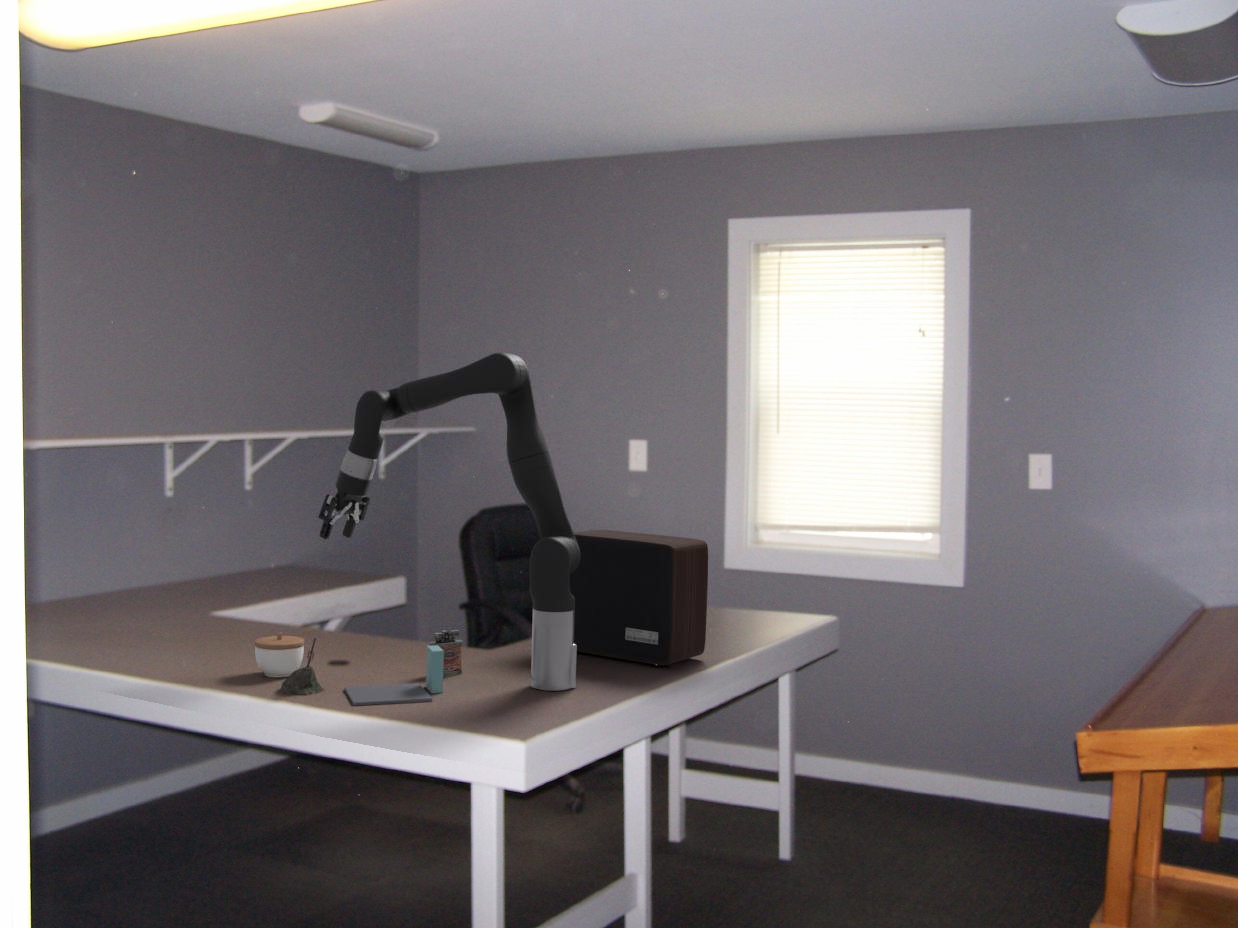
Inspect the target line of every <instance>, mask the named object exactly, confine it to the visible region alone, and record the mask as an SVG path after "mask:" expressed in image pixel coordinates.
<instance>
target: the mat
mask: <svg viewBox="0 0 1238 928" xmlns="http://www.w3.org/2000/svg"><path fill="white" fill-rule="evenodd" d="M344 691H345V693H346V695H347V696H348V698H349V700H350V702H351V704H352V705H353V706H354V707H356V706H371V705H373V706H374V704H375V705H390V704H405V703H406V704H407V703H408V704H409V703H425V702H426V703H427V702H433V698H432V697H431V695H430V694H429V693H428V692H427V691H426V689H425V688H424V687H423V686H422V684H421V683H420V682H419V683H417V682H416V683H401V684H396V683H395V684H379V685H362V686H361V685H360V686H359V685H357V686H356V685H355V686H346V687H344Z"/></svg>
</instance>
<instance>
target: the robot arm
mask: <svg viewBox="0 0 1238 928" xmlns="http://www.w3.org/2000/svg"><path fill="white" fill-rule="evenodd" d="M482 394H483V395H484V394H495V395H498V397H499V399H500V402H501V405H502V409H503V412H504V415H505V418H506V419H505V420H506V456H507V461H508V465H509V469H510V472H511V474H512V479H513V482H514V485H515V487H516V489H517V491H518V492H519V495H520V496H521V497H522V499H523V501H524V503H525V504H526V505H527V507H528V508H529V510H530V512H531V514H532V516H533V518H534V520H535V522H536V523H535V524H536V527H537V530H538V535H539V539H540V540H539V541H536V543H535V544H534V545H533V547H532V549H531V551H530V552H531V553H530V556H529V559H530V560H529V592H530V593H529V595H530V598H531V599H532V626H531V627H532V628H531V632H532V633H531V659H530V660H531V661H530V662H531V663H530V665H531V667H530V669H531V670H530V671H531V672H530V687H531V688H533V689H536V690H540V691H557V692H558V691H566V690H570V689H575V688H576V687H577V685H576V684H577V682H576V681H577V655H578V654H577V653H578V651H577V645H576V644H574V619H575V598H574V596H573V595H572V594H571V592H570V574H571V573H573V572H574V571H575V570H576V569H577V567H578V565H579V563H580V549H579V546H578V543H577V540H576V538H575V535H574V533H573V532H574V531H573V528H572V525H571V524H570V520H569V518H568V515H567V513H566V509H565V507H564V502H563V498H562V494H561V491H560V488H559V484H558V480H557V476H556V473H555V468H554V464H553V462H552V461H553V460H552V457H551V454H550V451H549V447H548V445H547V441H546V438H545V435H544V431H543V428H542V425H541V422H540V421H541V420H540V419H539V416H538V413H537V409H536V405H535V401H534V400H535V398H534V395H533V387H532V382H531V376H530V371H529V368H528V366H527V364H526V362H525V361H524V360H523V358H521V356H519V355H516V354H513V353H509V352H507V353H506V352H500V351H499V352H493V353H491V354H489V355H487V356H485V357H483V358H480V359H477V361H474V362H472V363H469V364H467V365H465V366H462V367H460V368H457V369H454V370H451V371H448V372H443V373H440V374H434V375H431V376H427V377H423V378H419V379H416V380H411V381H408V382H407V381H406V382H405V383H403V384H401V385H400V386H399V387H395V388H390V389H385V390H381V389H380V390H378V389H370V390H367V391H365V392H364V393H362V395H361V396H360V398H359V399H358V401H357V404H356V408H355V414H354V424H353V434H352V436H351V440H350V443H349V446H348V449H347V452H346V454H345V455H344V458H343V459H342V464H341V467H340V469H339V472H338V476H337V479H336V481H335V483H334V484H335V488H336V489H337V490H336V491H337V492H336V494H335V495H331V494H330V493H327V494H326V495H325V498H324V500H323V503H322V506H321V509H320V511H319V513H318V519H320V520H322V521H323V522H322V525H321V528H320V532H319V537H320V538H322V539H323V540H328V539H330V536H331V532H332V530H333V526H334V523H335V522H336V521H337V520H338V519H340V518H342V516H344V515H347V520H346V521H345V524H344V528H343V531H342V536H344V537H346V538H350V539H351V538H352V536H353V534H354V531H355V528H356V524H358V523H359V521H363V520H364V519H365V517H366V514H367V511H368V507H369V504H370V501H371V498H370V497H369V496H367V495H368V492H369V491H370V490H369V489H370V486H371V483H372V480H373V477H374V473H375V472H376V467H377V463H378V458H379V455H380V453H381V451H382V446H383V442H384V436H383V434H382V433H380V431H381V424H382V422H388V421H392V420H395V419H396V420H397V419H398V418H401V417H404V416H406V415H407V416H408V415H410V414H412V413H417V412H418V413H419V412H423V411H425V410H429V409H430V410H431V409H433V408H437V407H440V406H442V405H445V404H447V403H449V402H452V401H455V400H456V399H460V398H463V397H467V396H471V395H482ZM326 511H327V512H326ZM325 513H326V514H325Z"/></svg>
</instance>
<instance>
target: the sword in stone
mask: <svg viewBox="0 0 1238 928" xmlns="http://www.w3.org/2000/svg"><path fill="white" fill-rule="evenodd" d="M316 640H317V638H316V637H313V640H312V641H313V642H312V646H311V649H310V650H308V652H307V657H306V659H307V660H308V661H307V665H306V666H304V667H301V668H298V669H297V670H296V671H294V672H293V673H292V674H291V675H290V676H288V677H286V678H285V679H284V680H283V682H281V687H280V692H282V693H284V694H287V695H296V696H311V695H317V694H319V693H322V692H323V691H325V689H324V688H323V687H322V685H321V684H320V683H319V682H318V680H317V677H316V674H315V673H316V672H315V669H314V668H313V667H312V666H310V664H311V663H313V659H314V655H315V653H314V647H315V643H316Z"/></svg>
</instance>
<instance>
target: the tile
mask: <svg viewBox="0 0 1238 928" xmlns="http://www.w3.org/2000/svg"><path fill="white" fill-rule="evenodd" d="M443 659H444V651H443V650H442V649H441V648H440V647H439V646H438V645H436V646H430V645H426V666H425V667H426V669H425V670H426V671H425V673H426V675H425V676H426V678H425V684H426V685H425V688H426V689H427V690H428V691H429V692H430V694H440V693H441V694H442V693H443V691H444V676H443Z"/></svg>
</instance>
